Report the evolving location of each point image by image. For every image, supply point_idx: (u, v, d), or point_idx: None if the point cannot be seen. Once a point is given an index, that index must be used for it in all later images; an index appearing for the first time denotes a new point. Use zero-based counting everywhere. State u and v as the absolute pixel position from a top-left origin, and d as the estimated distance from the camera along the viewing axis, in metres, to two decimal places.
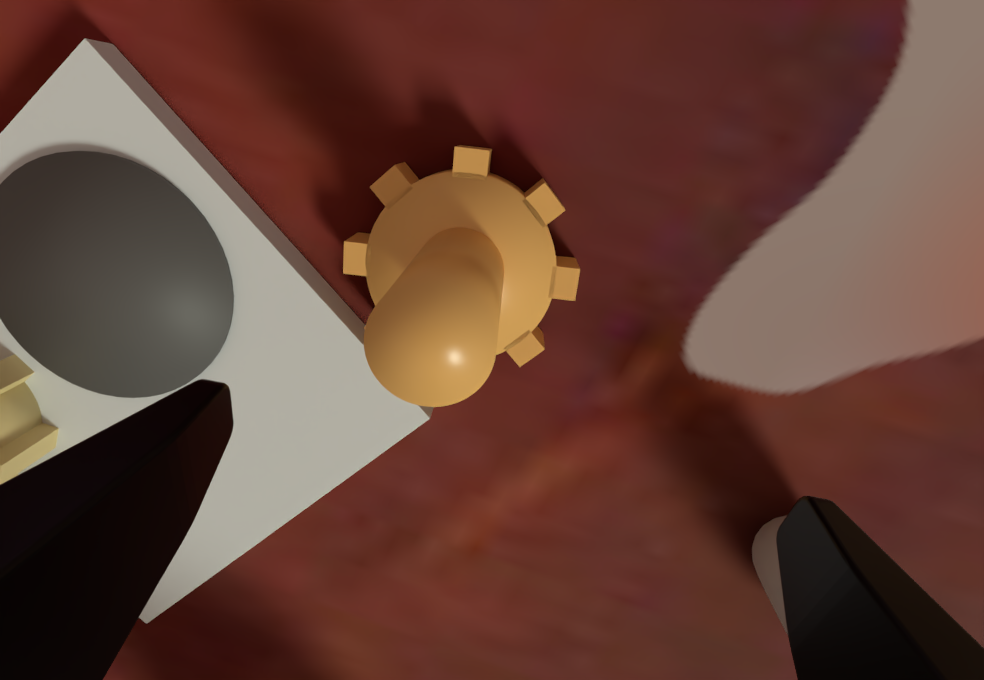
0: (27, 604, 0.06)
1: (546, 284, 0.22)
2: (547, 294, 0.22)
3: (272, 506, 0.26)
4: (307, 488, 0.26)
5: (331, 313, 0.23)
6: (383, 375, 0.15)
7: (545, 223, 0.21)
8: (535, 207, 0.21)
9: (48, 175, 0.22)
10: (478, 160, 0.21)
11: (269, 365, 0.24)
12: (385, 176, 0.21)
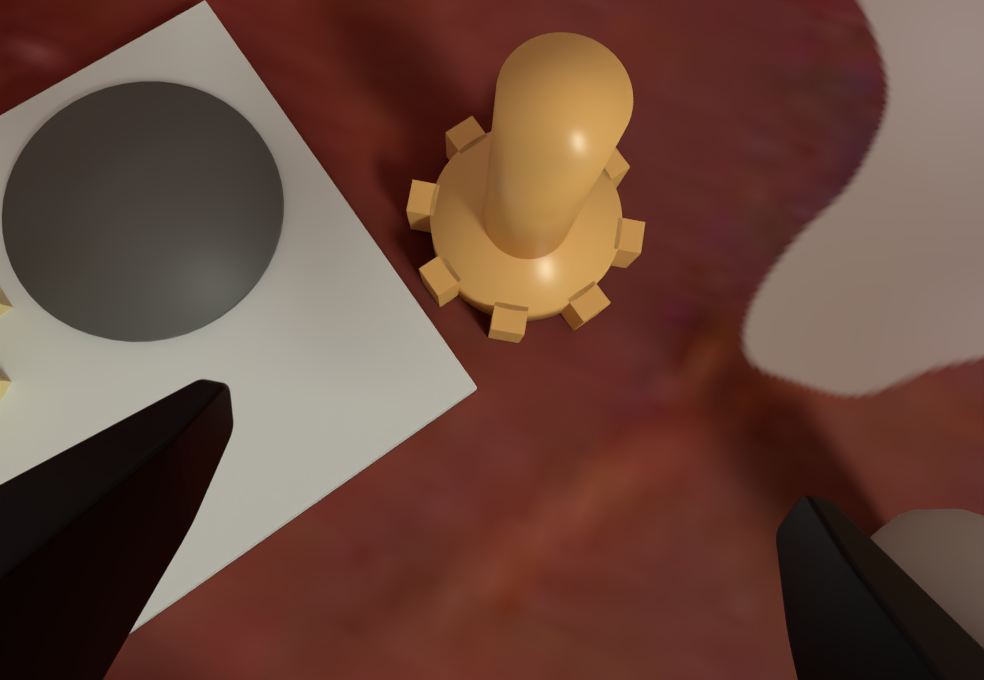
0: (27, 604, 0.06)
1: (612, 235, 0.22)
2: (613, 245, 0.22)
3: (259, 505, 0.20)
4: (311, 479, 0.21)
5: (383, 258, 0.22)
6: (512, 122, 0.14)
7: (611, 176, 0.22)
8: None
9: (124, 100, 0.22)
10: None
11: (301, 313, 0.21)
12: (462, 124, 0.22)
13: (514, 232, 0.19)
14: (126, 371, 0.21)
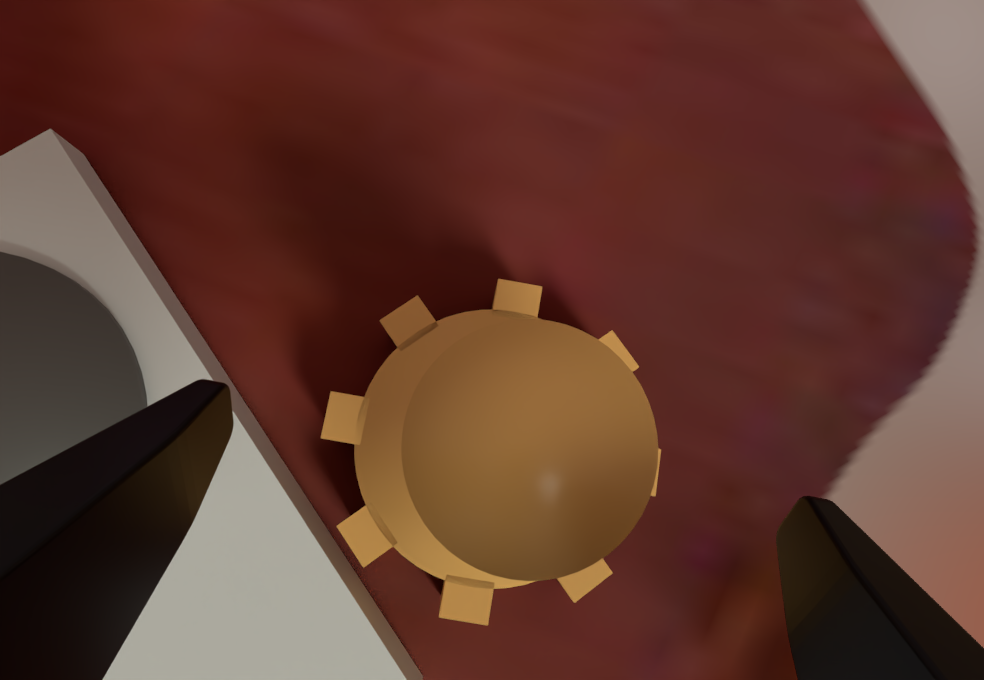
0: (28, 604, 0.06)
1: None
2: None
3: None
4: None
5: (288, 504, 0.15)
6: (432, 504, 0.07)
7: None
8: None
9: None
10: (527, 297, 0.16)
11: (166, 590, 0.15)
12: (403, 308, 0.16)
13: None
14: None
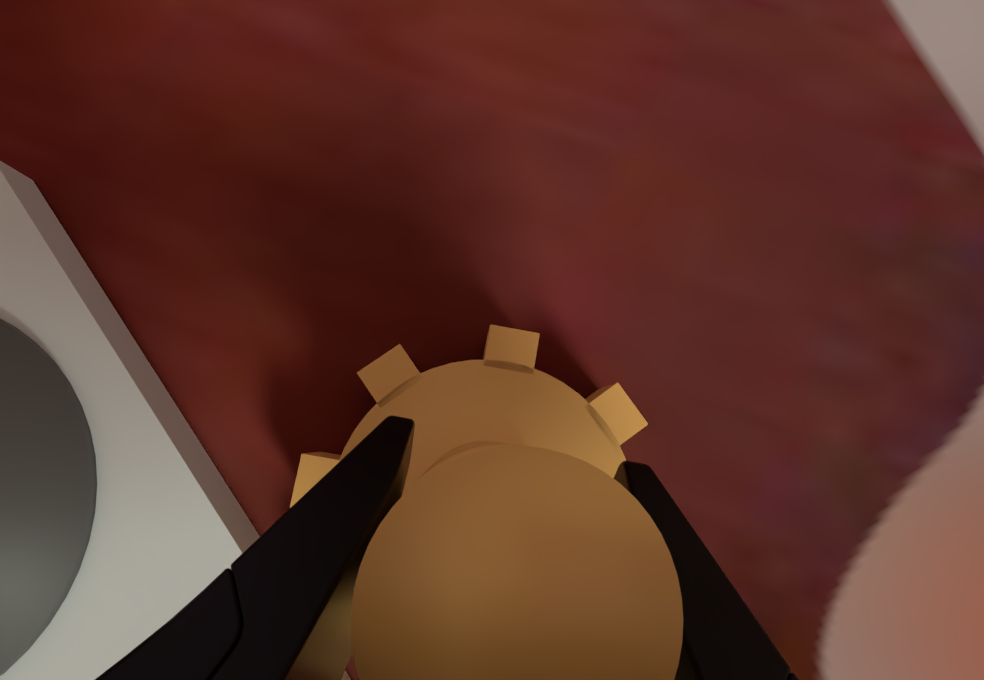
0: (313, 657, 0.06)
1: None
2: None
3: None
4: None
5: None
6: None
7: (619, 442, 0.14)
8: (604, 417, 0.14)
9: None
10: (523, 345, 0.14)
11: None
12: (383, 358, 0.14)
13: None
14: None
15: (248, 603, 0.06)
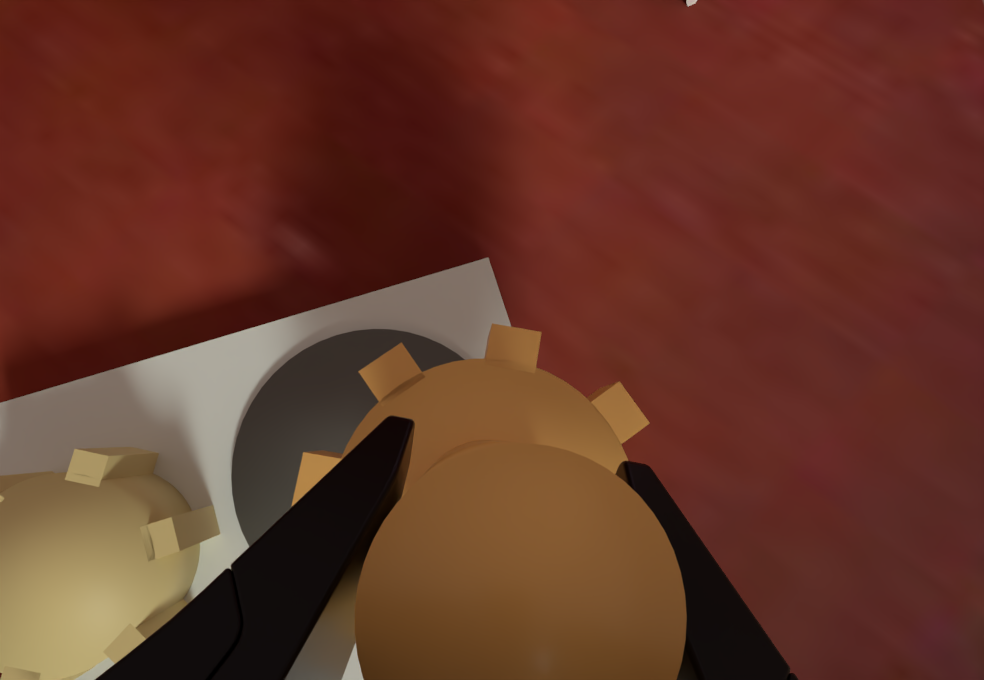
0: (313, 656, 0.06)
1: None
2: None
3: None
4: None
5: None
6: None
7: (620, 441, 0.14)
8: (605, 416, 0.14)
9: (385, 347, 0.21)
10: (524, 344, 0.14)
11: None
12: (385, 357, 0.14)
13: None
14: None
15: (248, 603, 0.06)
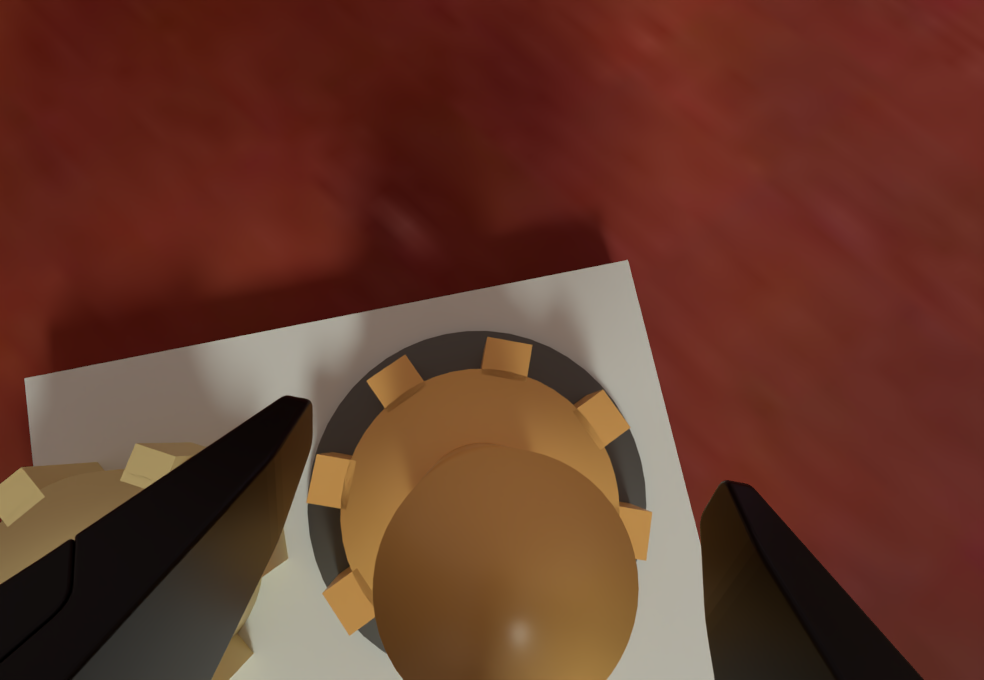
0: (155, 628, 0.06)
1: None
2: None
3: None
4: None
5: None
6: (404, 649, 0.07)
7: (603, 443, 0.16)
8: (590, 421, 0.16)
9: None
10: (516, 356, 0.16)
11: None
12: (390, 368, 0.16)
13: None
14: None
15: (82, 572, 0.06)
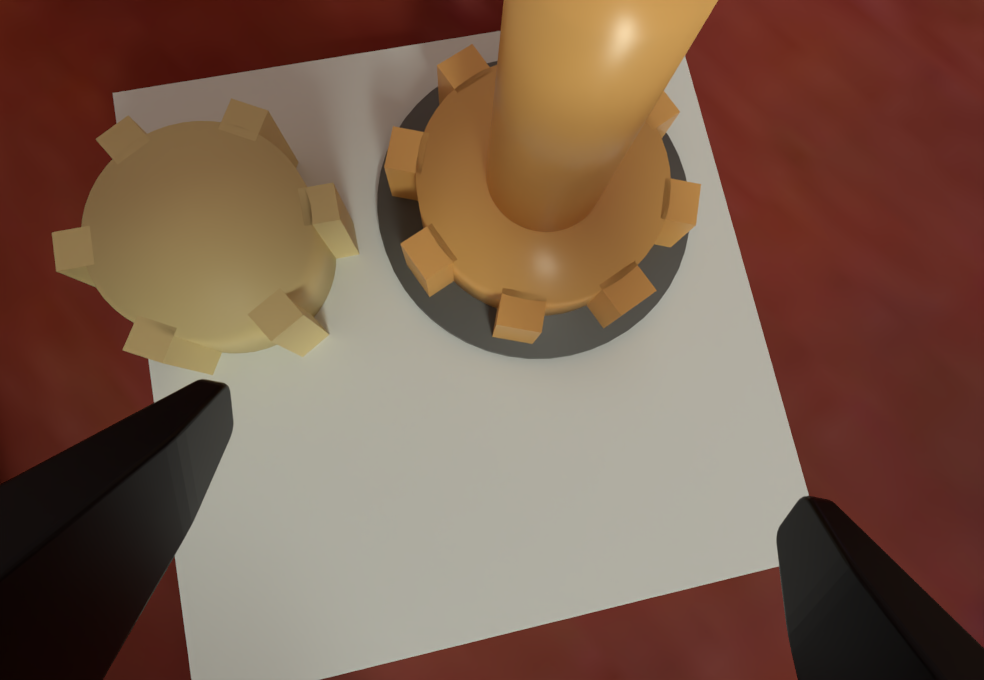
0: (27, 604, 0.06)
1: (657, 200, 0.17)
2: (659, 214, 0.16)
3: (541, 588, 0.17)
4: (608, 582, 0.17)
5: (768, 362, 0.18)
6: None
7: (656, 124, 0.17)
8: None
9: None
10: None
11: (658, 387, 0.18)
12: (459, 54, 0.17)
13: (531, 189, 0.14)
14: (451, 373, 0.18)
15: None
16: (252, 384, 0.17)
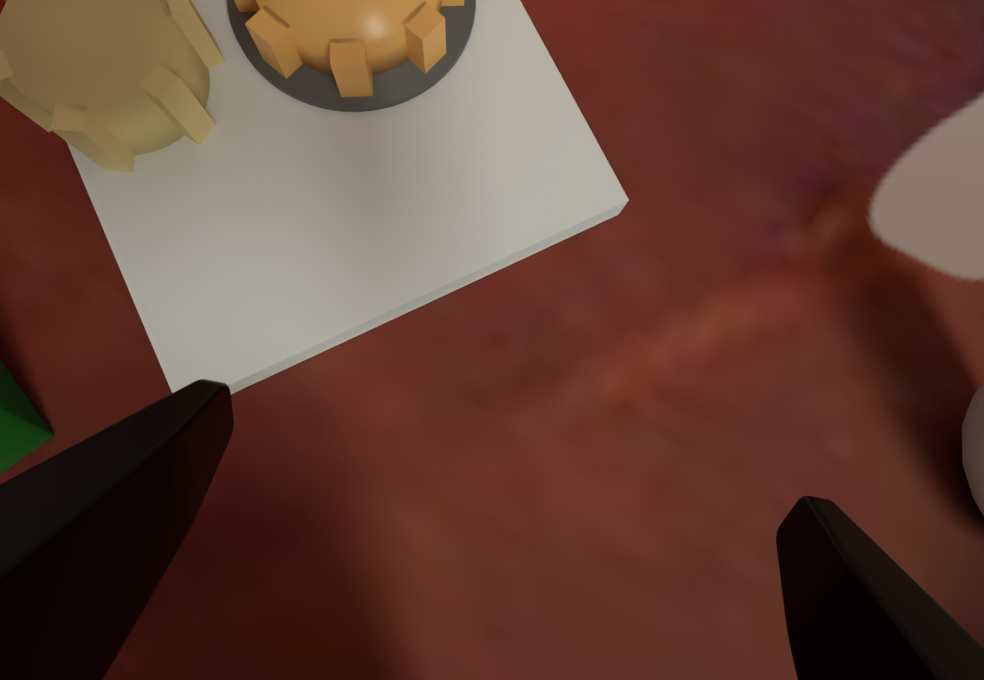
0: (27, 604, 0.06)
1: None
2: None
3: (420, 268, 0.22)
4: (470, 253, 0.22)
5: (558, 75, 0.24)
6: None
7: None
8: None
9: None
10: None
11: (478, 110, 0.23)
12: None
13: None
14: (317, 132, 0.23)
15: None
16: (165, 172, 0.22)
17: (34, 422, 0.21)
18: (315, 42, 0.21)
